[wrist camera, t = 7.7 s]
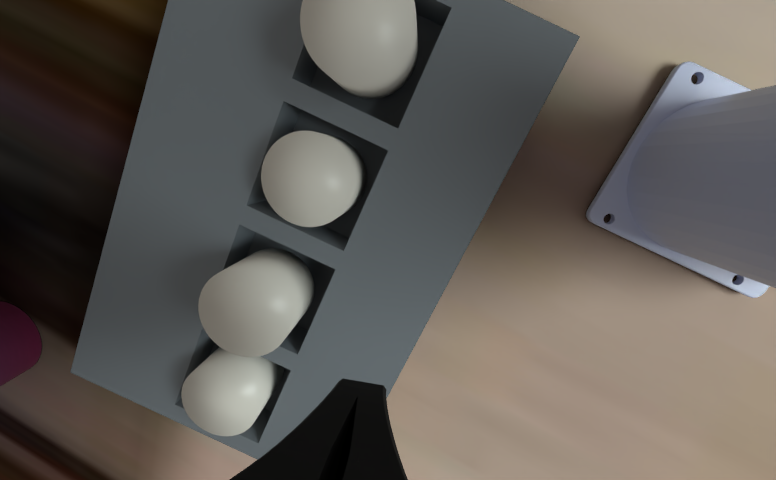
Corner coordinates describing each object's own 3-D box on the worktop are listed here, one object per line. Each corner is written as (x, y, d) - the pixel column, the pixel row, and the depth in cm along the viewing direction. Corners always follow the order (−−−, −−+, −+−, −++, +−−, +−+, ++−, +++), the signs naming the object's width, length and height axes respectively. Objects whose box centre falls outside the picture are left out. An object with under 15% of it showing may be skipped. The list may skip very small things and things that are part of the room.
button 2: (379, 156, 18) (369, 156, 15) (348, 227, 19) (332, 242, 16) (306, 122, 18) (280, 113, 15) (278, 195, 19) (248, 202, 16)
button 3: (326, 269, 18) (304, 293, 15) (297, 335, 19) (270, 372, 16) (253, 234, 18) (215, 252, 15) (228, 302, 19) (187, 332, 16)
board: (553, 57, 17) (580, 36, 14) (346, 452, 23) (334, 495, 20) (243, -90, 17) (205, -142, 14) (115, 345, 23) (70, 372, 20)
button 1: (433, 22, 15) (436, -16, 12) (393, 114, 16) (386, 102, 13) (347, -19, 15) (326, -69, 12) (312, 75, 16) (283, 54, 13)
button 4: (293, 351, 21) (269, 387, 18) (270, 404, 22) (243, 448, 19) (231, 321, 21) (194, 352, 18) (210, 376, 22) (171, 415, 19)
